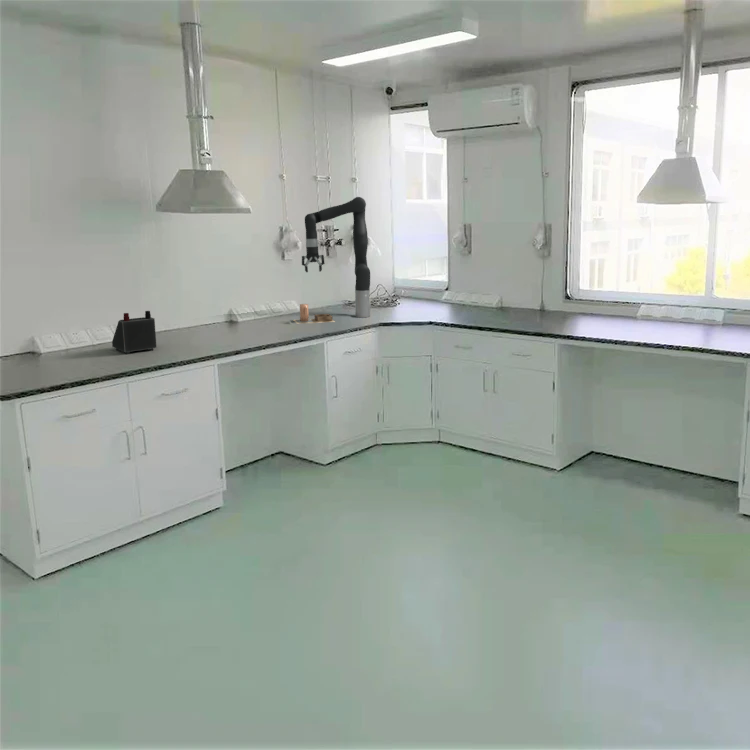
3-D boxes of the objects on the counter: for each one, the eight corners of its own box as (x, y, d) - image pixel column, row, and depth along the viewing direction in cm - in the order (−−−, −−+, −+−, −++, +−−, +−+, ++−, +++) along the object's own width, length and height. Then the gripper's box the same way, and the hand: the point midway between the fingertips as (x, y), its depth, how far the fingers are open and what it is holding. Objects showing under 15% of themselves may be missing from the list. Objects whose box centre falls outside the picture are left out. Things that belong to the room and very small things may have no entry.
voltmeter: (143, 345, 359) (140, 307, 354) (156, 350, 347) (154, 311, 342) (112, 349, 349) (109, 310, 344) (125, 355, 337) (121, 314, 332)
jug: (307, 319, 428) (307, 303, 426) (310, 321, 421) (310, 305, 419) (299, 320, 427) (299, 304, 424) (301, 322, 420) (301, 305, 417)
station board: (330, 319, 437) (330, 313, 436) (335, 323, 424) (335, 316, 423) (292, 321, 430) (292, 315, 429) (297, 325, 417) (296, 318, 416)
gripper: (302, 246, 431) (303, 273, 435) (324, 245, 435) (325, 271, 439) (299, 246, 438) (301, 272, 442) (321, 245, 442) (323, 270, 446)
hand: (313, 271), depth 441 cm, fingers open, 8 cm apart
